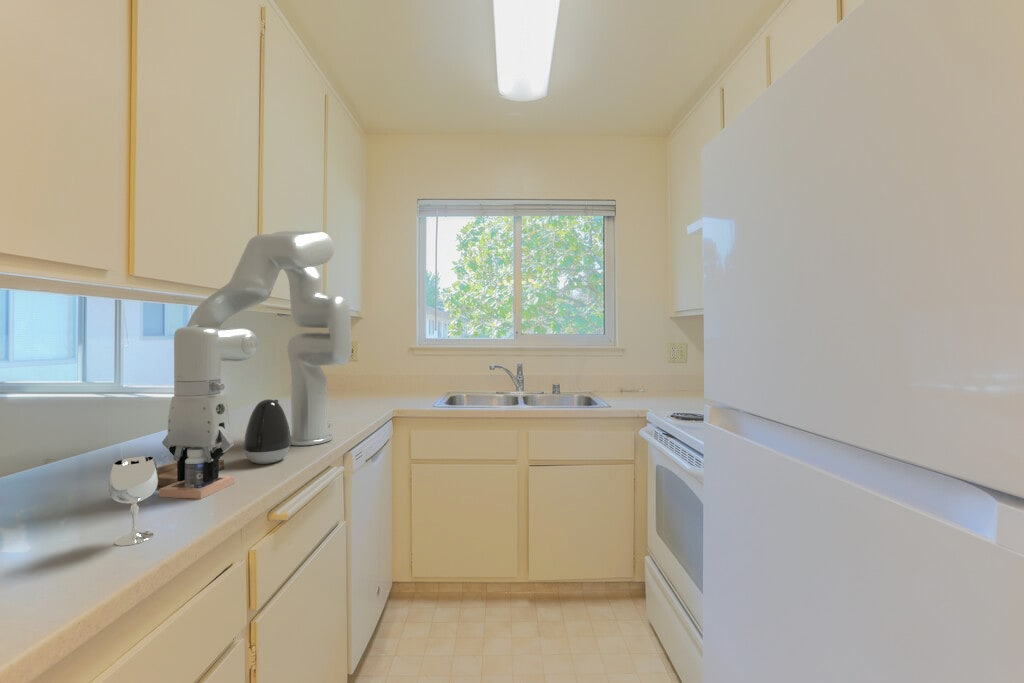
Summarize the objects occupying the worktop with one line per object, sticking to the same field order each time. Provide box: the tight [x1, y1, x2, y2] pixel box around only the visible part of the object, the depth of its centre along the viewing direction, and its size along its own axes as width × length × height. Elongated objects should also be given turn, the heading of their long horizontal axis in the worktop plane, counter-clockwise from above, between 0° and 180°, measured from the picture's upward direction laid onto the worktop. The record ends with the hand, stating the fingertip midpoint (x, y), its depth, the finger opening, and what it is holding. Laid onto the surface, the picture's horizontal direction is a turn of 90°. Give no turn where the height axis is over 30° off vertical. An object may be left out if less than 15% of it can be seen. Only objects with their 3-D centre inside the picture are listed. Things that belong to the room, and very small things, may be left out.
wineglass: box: [108, 455, 159, 547], centre depth 66 cm, size 6×6×12 cm
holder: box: [158, 475, 235, 500], centre depth 87 cm, size 9×9×2 cm
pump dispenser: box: [243, 399, 292, 465], centre depth 106 cm, size 10×10×15 cm
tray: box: [157, 459, 225, 489], centre depth 94 cm, size 13×10×2 cm
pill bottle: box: [185, 447, 214, 488], centre depth 87 cm, size 5×5×8 cm
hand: (198, 478), depth 87 cm, fingers closed on pill bottle, 4 cm apart
